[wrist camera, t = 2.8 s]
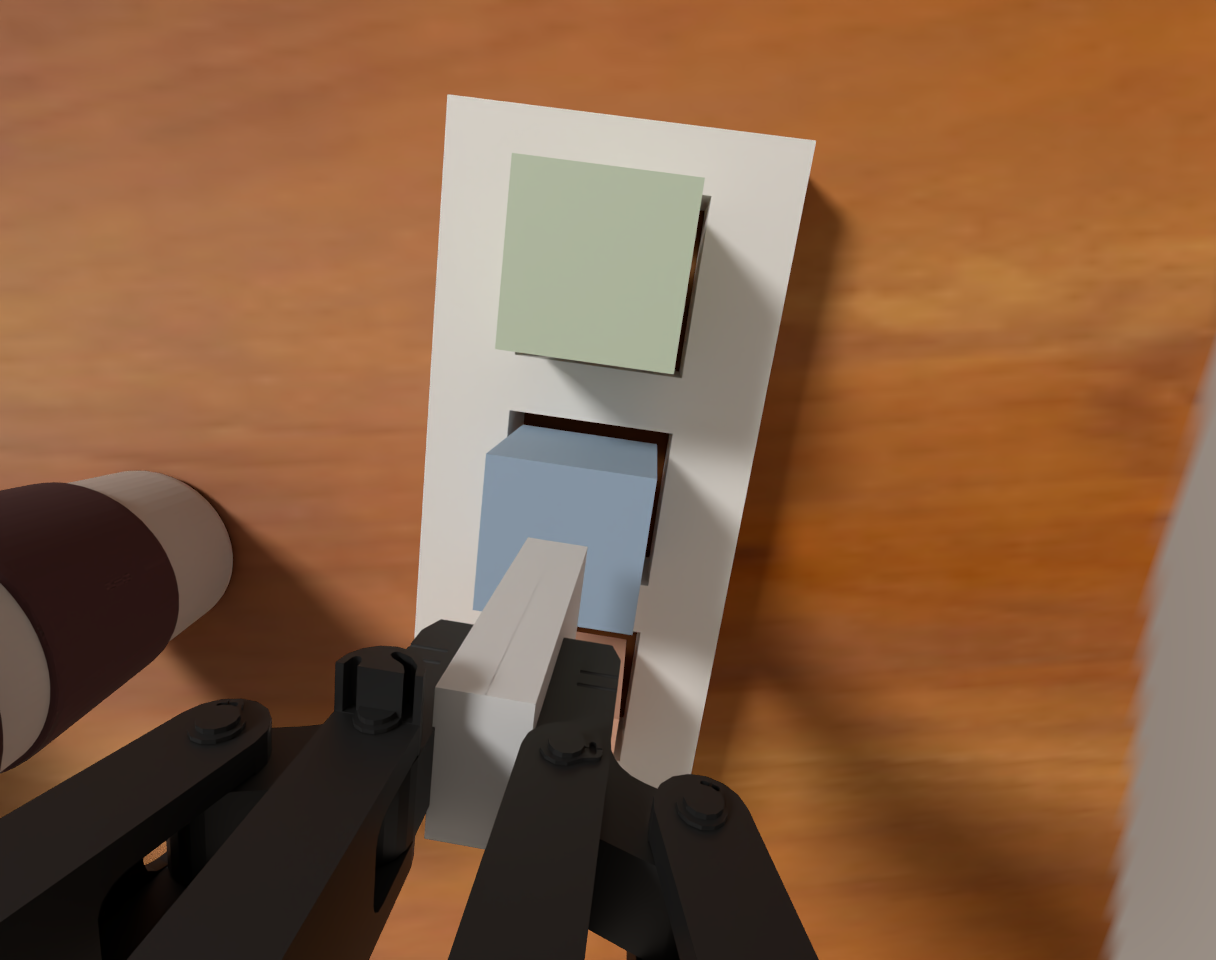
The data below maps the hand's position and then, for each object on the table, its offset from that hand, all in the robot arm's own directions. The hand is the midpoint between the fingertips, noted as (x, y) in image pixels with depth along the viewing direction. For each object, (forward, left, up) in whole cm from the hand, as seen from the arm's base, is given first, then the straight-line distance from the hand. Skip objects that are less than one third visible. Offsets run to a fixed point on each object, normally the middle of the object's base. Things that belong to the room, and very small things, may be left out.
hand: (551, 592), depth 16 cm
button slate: (0, 0, -8) cm, 8 cm away
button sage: (0, +8, -8) cm, 12 cm away
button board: (0, 0, -11) cm, 11 cm away
